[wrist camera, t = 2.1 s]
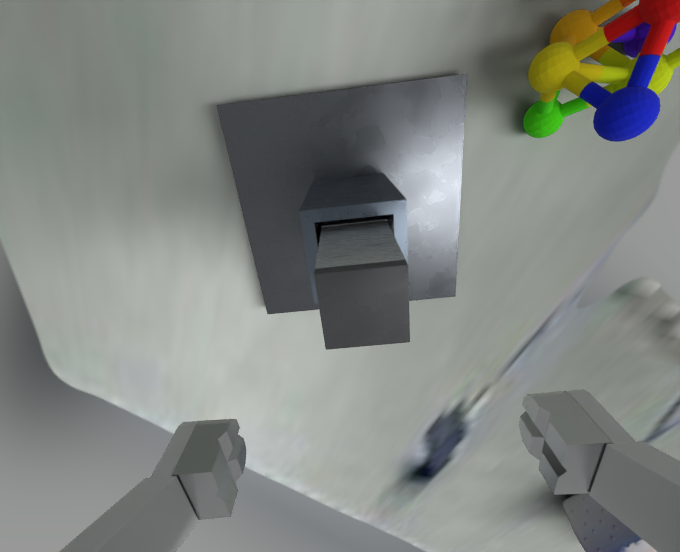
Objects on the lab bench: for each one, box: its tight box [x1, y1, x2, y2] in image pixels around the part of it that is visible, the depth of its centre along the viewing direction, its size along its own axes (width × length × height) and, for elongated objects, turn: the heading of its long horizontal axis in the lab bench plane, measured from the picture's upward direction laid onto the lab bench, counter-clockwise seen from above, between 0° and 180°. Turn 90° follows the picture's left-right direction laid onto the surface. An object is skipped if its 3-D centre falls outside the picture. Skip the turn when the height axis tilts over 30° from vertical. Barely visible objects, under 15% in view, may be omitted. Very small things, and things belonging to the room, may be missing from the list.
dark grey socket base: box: [217, 74, 467, 314], centre depth 26 cm, size 20×20×12 cm
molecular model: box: [523, 0, 680, 142], centre depth 21 cm, size 11×7×12 cm, turn 130°
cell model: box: [563, 493, 658, 552], centre depth 47 cm, size 13×11×20 cm
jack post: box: [314, 215, 410, 349], centre depth 22 cm, size 4×4×17 cm
